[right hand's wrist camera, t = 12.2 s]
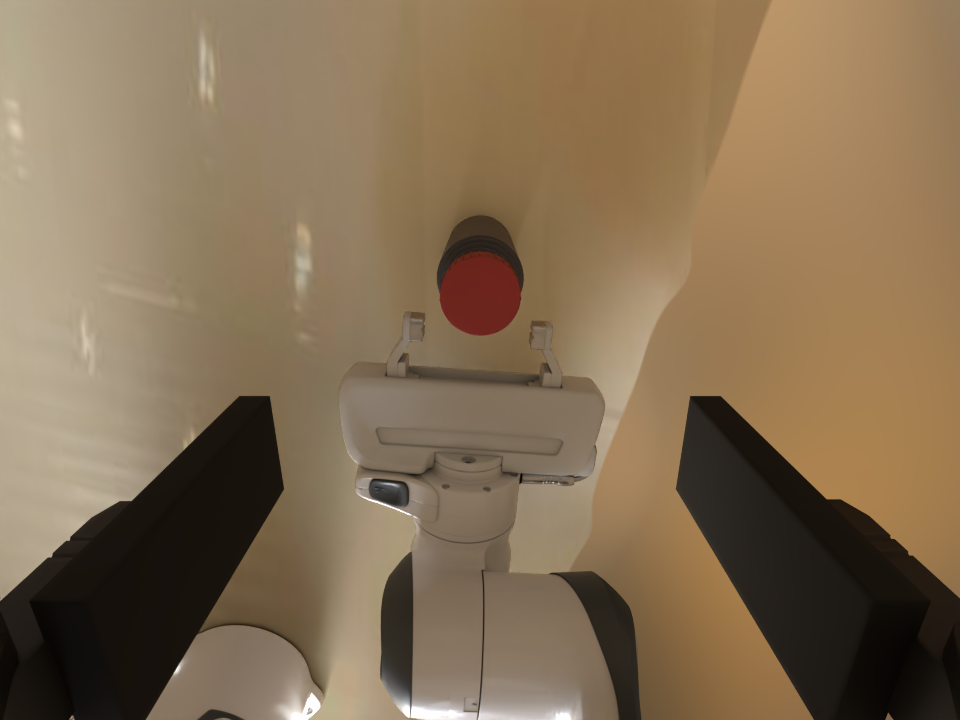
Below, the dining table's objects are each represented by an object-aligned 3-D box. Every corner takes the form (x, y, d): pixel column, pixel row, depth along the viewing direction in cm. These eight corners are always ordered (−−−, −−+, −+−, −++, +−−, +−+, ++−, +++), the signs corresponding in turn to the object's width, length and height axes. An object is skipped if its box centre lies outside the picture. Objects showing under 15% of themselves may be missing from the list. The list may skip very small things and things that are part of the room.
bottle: (501, 288, 45) (511, 353, 30) (440, 270, 44) (420, 327, 29) (520, 226, 43) (543, 262, 28) (458, 207, 43) (446, 232, 27)
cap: (505, 336, 31) (507, 346, 29) (432, 315, 30) (429, 323, 29) (530, 263, 29) (533, 269, 28) (453, 240, 29) (451, 244, 27)
